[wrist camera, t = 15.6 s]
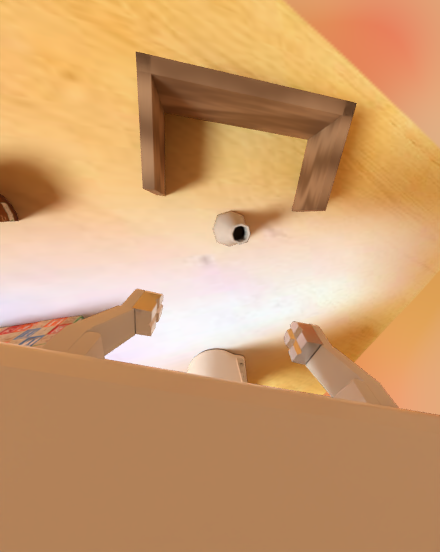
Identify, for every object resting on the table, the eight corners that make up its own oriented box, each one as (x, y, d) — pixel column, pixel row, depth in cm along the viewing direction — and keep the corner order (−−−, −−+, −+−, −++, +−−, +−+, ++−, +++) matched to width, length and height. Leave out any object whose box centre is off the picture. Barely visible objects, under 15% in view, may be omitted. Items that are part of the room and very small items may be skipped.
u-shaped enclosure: (298, 211, 35) (325, 210, 28) (156, 194, 31) (142, 188, 24) (318, 130, 31) (356, 103, 23) (153, 98, 26) (135, 51, 19)
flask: (212, 210, 33) (218, 208, 24) (247, 211, 34) (265, 209, 25) (212, 246, 36) (217, 257, 26) (245, 246, 36) (260, 256, 27)
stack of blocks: (-2, 351, 38) (-88, 409, 27) (-19, 330, 36) (-121, 383, 25) (93, 336, 40) (50, 384, 28) (82, 314, 38) (31, 357, 26)
